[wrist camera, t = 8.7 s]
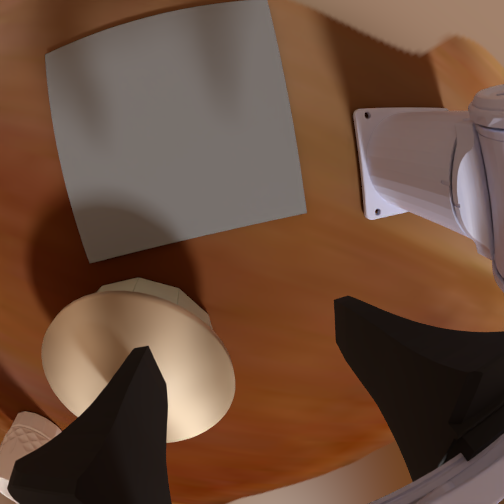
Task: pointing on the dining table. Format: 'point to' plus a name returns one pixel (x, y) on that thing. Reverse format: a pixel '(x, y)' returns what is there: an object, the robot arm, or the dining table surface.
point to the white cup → (23, 443)
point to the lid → (133, 336)
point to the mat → (175, 128)
